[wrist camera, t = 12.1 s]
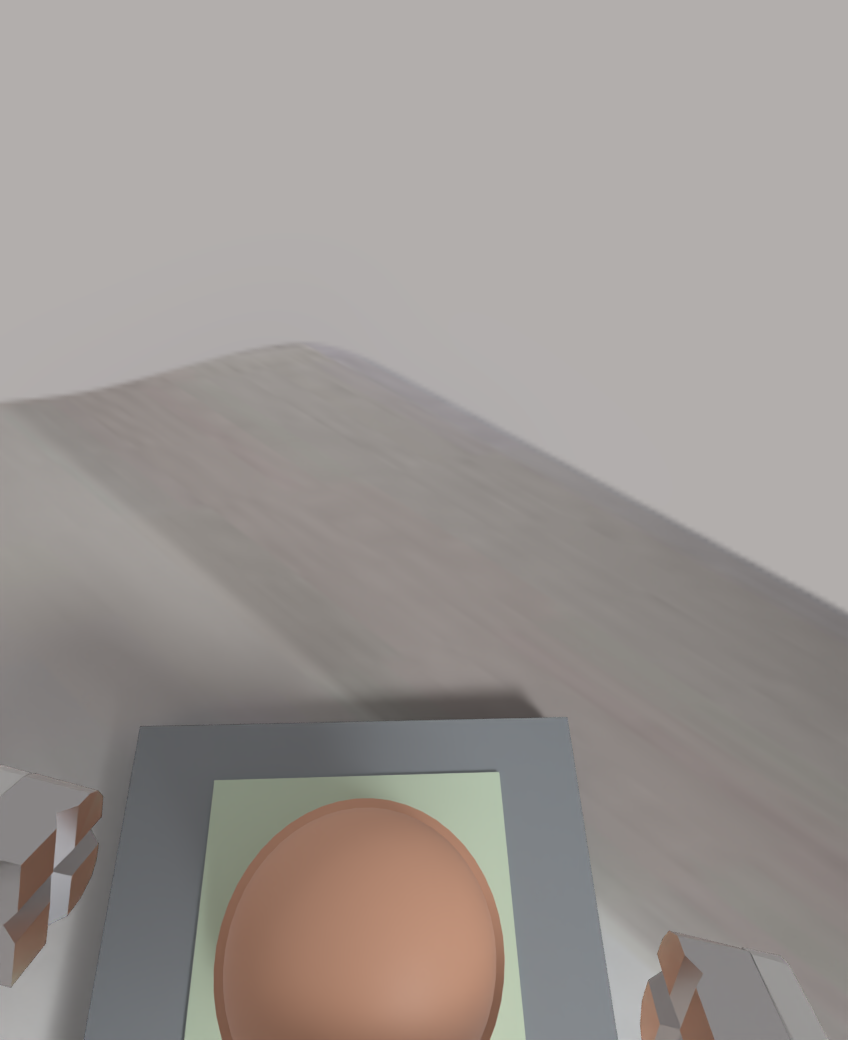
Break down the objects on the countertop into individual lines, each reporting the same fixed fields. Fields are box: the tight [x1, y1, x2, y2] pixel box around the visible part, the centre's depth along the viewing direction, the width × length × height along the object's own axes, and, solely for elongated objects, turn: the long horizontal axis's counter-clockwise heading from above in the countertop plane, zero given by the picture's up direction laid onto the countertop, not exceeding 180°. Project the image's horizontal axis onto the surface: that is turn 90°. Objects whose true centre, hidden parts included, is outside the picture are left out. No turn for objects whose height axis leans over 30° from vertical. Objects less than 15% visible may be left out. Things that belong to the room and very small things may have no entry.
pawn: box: [214, 798, 505, 1040], centre depth 11 cm, size 5×5×9 cm
